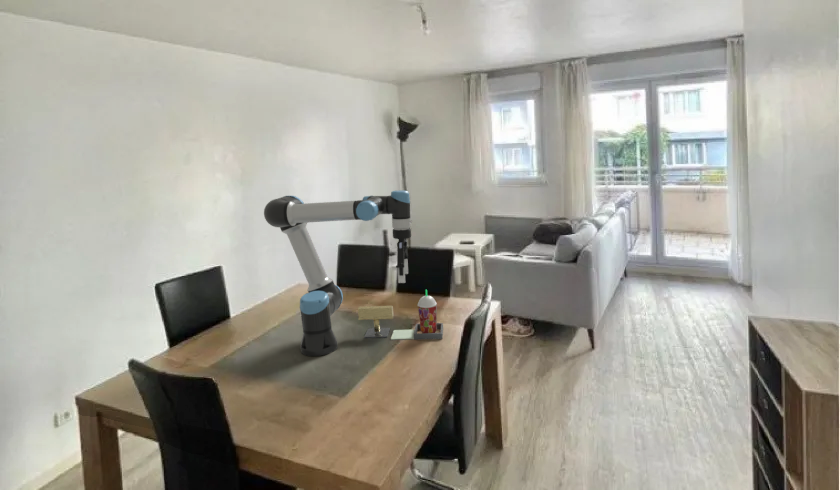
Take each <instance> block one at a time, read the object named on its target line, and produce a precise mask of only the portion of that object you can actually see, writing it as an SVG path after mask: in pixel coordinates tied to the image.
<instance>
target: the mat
mask: <svg viewBox="0 0 840 490" xmlns="http://www.w3.org/2000/svg"><path fill="white" fill-rule="evenodd" d="M414 331H415V329H394V330H393V331H392V335H391V337H390V341H391V340H392V341H393V340H394V341H398V340H402V341H403V340H414Z"/></svg>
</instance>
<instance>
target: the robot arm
mask: <svg viewBox="0 0 840 490" xmlns="http://www.w3.org/2000/svg"><path fill="white" fill-rule="evenodd" d="M410 198H411V197H410V192H409V191H408V190H403V189H402V190H399V189H398V190H392V191H391V193H390V195H366V196H365V195H364V196H363V197H362V199H361V200H360V199H359V200H345V201H343V200H342V201H327V202H326V201H324V202H312V203H311V202H307V203H306V202H305V203H304V201H303V199H301V198H299V197H298V196H296V195H285V196H282V197H279V198H274V199H271V200H270V201H269V202H268V203H267V204H266V205H265V207H264V209H263V215H264V219H265V221H266V223H268V225H270V226H271V227H274V228H279V229H280V230H281V233H283V234H286V236H287V238H288V240H289V243H290V245H291V247H292V249H293V251H294V252H293V253H294V254H295V256H296V258H297V261H298V263H299V266H300V268H301V270H302V272H303V274H304V275H303V276H304V277H305V279H306V282H307V283H308V287H307V293H305V294H303V295H302V296H301V297H300V298H299V299H300V300H299V310H300V318H301V324H302V325H301V326H302V327H301V328H302V337H301V342H300V353H301V354H303V355H304V356H308V357H319V356H325V355H328V354H330V353H333V352H335V351H336V350H337V349H338V347H339V346H338V344H339V343H338V339H337V337H336V335H335V333H334V331H333V328H332V319H331V317H332V315H333V314H334V313H335V312H336V311H337V310H339V308H340V306H341V305H342V303H343V299H344V296H343V290H342V289H341V288H340V287H339V286H338V285H336V284H335V282H334V280H333V278H330V277H328V275H327V272H326V270H325V268H324V266H323V263H322V261H321V259H320V256H319V253H318V252H317V249H316V247H315V244H314V242H313V240H312V237H311V236H310V233H309V231H308V229H307V225H308V223H321V222H338V221H339V222H341V221H364V222H369V221H372V220H374V219H375V218H376V217H378V216H379V215H391V222H392V223H391V228H392V238H393V239H395V240H398V241H397V243H396V249H397V250H396V251H397V254H396V255H397V257H396V259H397V265H395V268H396V269H397V280H398V284H405V283H406V275H408V274H409V263H408V260H409V259H410V255H409V253H408V252H409V251H408V240H407V239H411V237H412V230H411V223H412V222H413V220H411V201H410V200H411V199H410Z"/></svg>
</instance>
